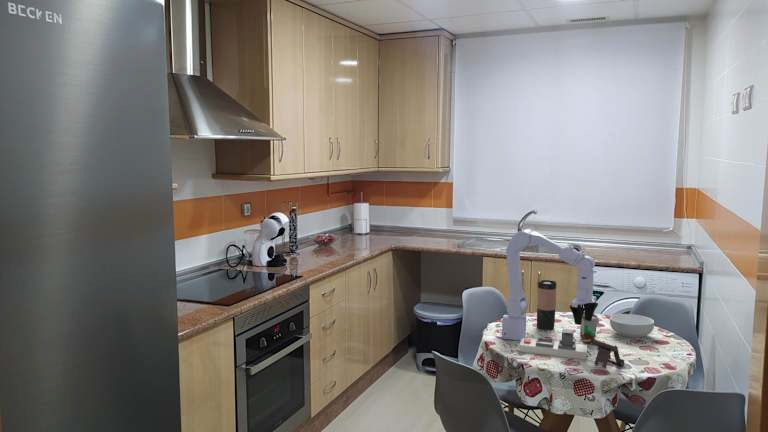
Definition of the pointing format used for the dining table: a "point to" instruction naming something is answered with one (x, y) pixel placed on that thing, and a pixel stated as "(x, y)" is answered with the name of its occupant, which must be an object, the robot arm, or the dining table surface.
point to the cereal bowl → (631, 325)
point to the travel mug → (546, 304)
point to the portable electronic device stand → (607, 354)
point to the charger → (567, 337)
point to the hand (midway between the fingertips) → (583, 322)
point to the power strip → (552, 348)
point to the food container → (588, 329)
